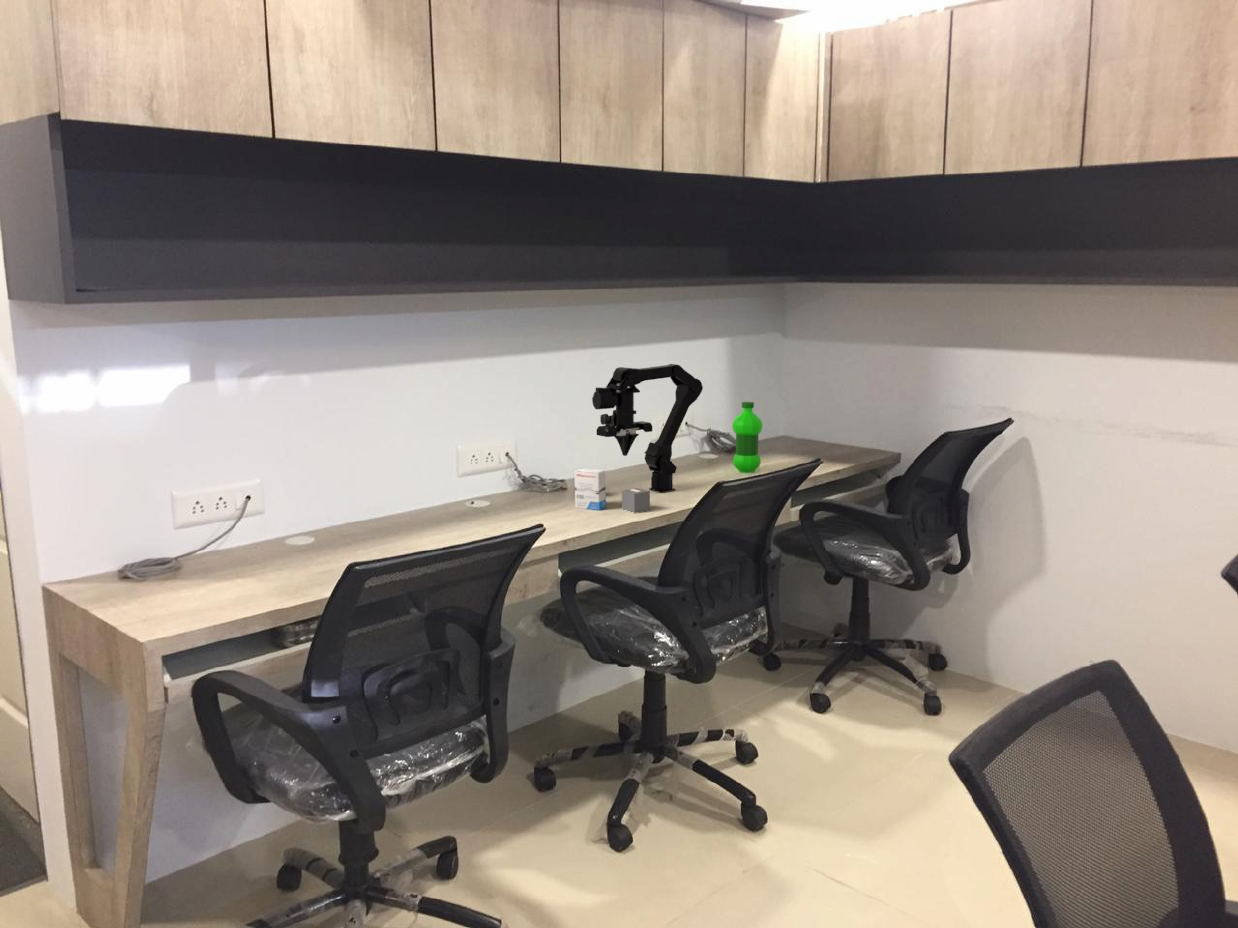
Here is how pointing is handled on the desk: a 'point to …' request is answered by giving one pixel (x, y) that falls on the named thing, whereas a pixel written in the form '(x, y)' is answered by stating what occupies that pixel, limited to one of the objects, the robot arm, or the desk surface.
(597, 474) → the ink box
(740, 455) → the plastic bottle
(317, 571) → the desk surface
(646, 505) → the marked block 2
